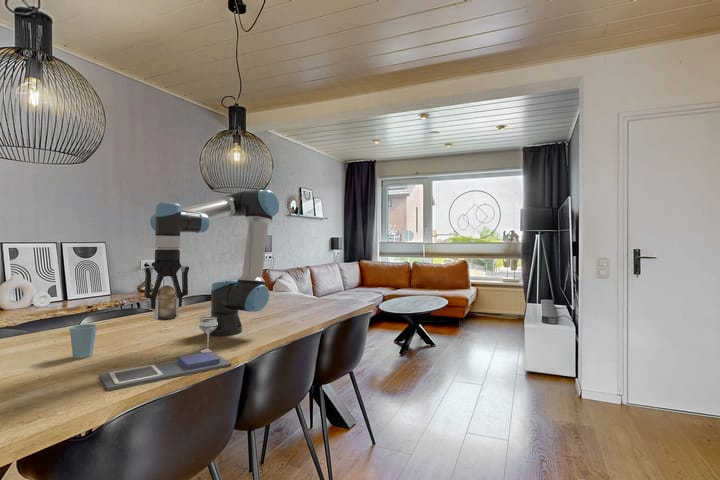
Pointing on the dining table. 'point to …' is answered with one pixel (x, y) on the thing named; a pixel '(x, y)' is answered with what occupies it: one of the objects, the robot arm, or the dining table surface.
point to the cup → (83, 340)
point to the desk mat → (163, 370)
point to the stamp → (166, 303)
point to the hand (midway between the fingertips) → (166, 317)
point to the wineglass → (208, 328)
